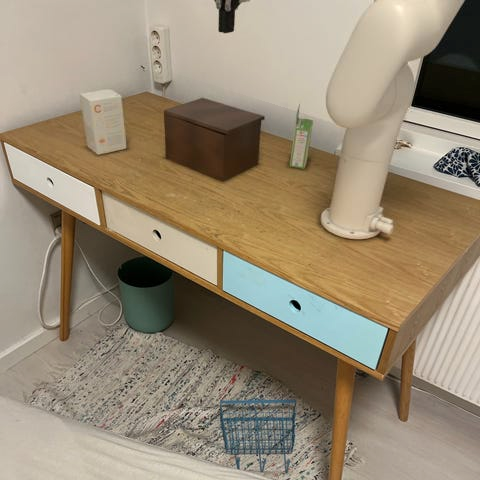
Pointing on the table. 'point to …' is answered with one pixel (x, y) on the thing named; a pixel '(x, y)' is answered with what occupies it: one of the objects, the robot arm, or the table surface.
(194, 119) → the chest lid
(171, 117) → the chest
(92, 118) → the small box
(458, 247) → the table surface
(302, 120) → the ink box
